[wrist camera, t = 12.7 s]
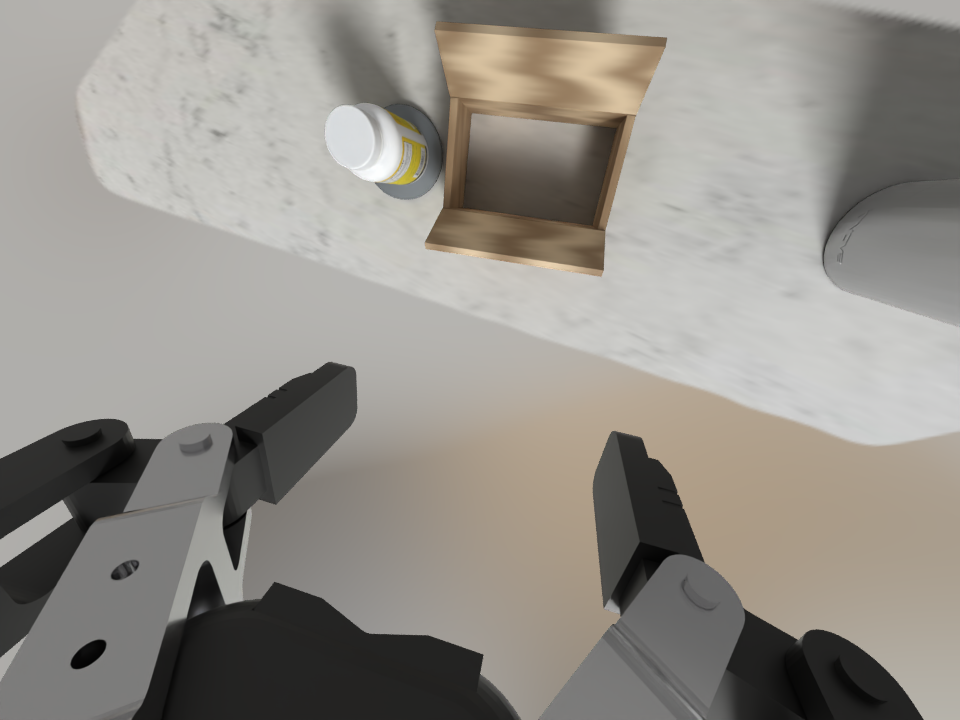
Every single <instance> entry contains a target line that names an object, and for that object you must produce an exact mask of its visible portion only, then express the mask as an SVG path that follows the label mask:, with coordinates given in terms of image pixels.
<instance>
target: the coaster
mask: <svg viewBox="0 0 960 720" xmlns="http://www.w3.org/2000/svg"><path fill="white" fill-rule="evenodd" d="M384 109H386V110H387V111H389V112H391V113H393V114H395V115H397V116H399V117H401V118H402V119H404V120H406V121H408V122H410V123H412V124H413V125H414V126H416V127H417V128H418V129H419V130H420V132H421V133H422V134H423V136H424V138H425V140H426V143H427V146H428V156H429V157H428V164H427V167H426V170H425V172H424V173H423V175H422V176H421V177H420V178H419V179H418V180H417V181H415V182H414V183H411V184H407V185H398V184H388V183H379V182H375V184H376V185H377V186H378V187H379V188H380V189H381V190H382V191H383V192H385V193H386V194H388V195H390V196H392V197H394V198H398V199H415V198H418V197H420V196H422V195H424V194H426V193H427V192H428V191H429V190H430V189H431V188H432V187H433V186H434V184H435V183H436V181H437V179H438V177H439V174H440V171H441V167H442V146H441V141H440V138H439V135H438V133H437V131H436V129H435V127H434V125H433V124H432V122H431V121H430V120H429V119H428V118H427V117H426V116H425V115H424V114H423V113H421V112H420V111H419V110H417V109H415V108H413V107H411V106H408V105H403V104H395V105H390V106H387V107H385V108H384Z"/></svg>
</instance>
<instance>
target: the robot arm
mask: <svg viewBox="0 0 960 720" xmlns="http://www.w3.org/2000/svg"><path fill="white" fill-rule="evenodd" d="M824 268H825V270H826V273H827V275H828V277H829V279H830V280H831V281H832V282H833V284H835V285H836V286H837V287H839V288H840V289H842V290H844V291H847V292H849V293H852V294H855V295H859V296H862V297H865V298H868V299H871V300H875V301H878V302H881V303H884V304H887V305H890V306H893V307H896V308H900V309H903V310H906V311H909V312H912V313H916V314H919V315H922V316H925V317H929V318H932V319H935V320H938V321H941V322H945V323H948V324H951V325H954V326H957V327H960V179H950V180H934V181H918V182H906V183H902V184H898V185H894V186H890V187H888V188H886V189H883V190H881V191H879V192H876V193H874V194H873V195H871V196H869V197H868V198H866V199H864V200H863V201H861V202H860V203H859V204H857V205H856V206H855V207H854V208H852V209H851V210H850V211H849V212H848V213H847V214H846V215H845V216H844V217H843V218H842V219H841V220H840V221H839V223H838V224H837V226H836V227H835V229H834V230H833V232H832V233H831V235H830V237H829V240H828V242H827V244H826V247H825V253H824ZM356 413H357V387H356V371H355V369H354V368H353V367H350V366H346V365H342V364H338V363H333V362H328V363H326V364H325V365H323V366H322V367H320V368H319V369H317V370H316V371H314V372H313V373H308V374H305V375H303V376H300V377H297V378H294V379H292V380H290V381H289V382H287V383H286V384H284V385H283V386H281V387H280V388H279V390H275V391H274V392H272V393H271V394H269V395H268V397H264V398H263V399H262V400H260V401H259V402H257V403H255V404H254V405H252V406H251V407H249V408H248V409H246V410H245V411H243V412H242V413H240V414H239V415H237V416H236V417H234V418H232V419H231V420H229V421H228V422H226V423H225V424H220V423H202V424H196V425H192V426H188V427H185V428H182V429H180V430H177V431H175V432H173V433H171V434H170V435H168V436H167V437H165V438H164V439H133V437H132V435H131V432H130V430H129V428H128V425H127V424H126V423H125V422H123V421H120V420H116V419H99V420H92V421H86V422H83V423H78V424H75V425H72V426H69V427H66V428H64V429H61V430H59V431H57V432H55V433H53V434H51V435H49V436H47V437H44V438H42V439H40V440H38V441H36V442H34V443H32V444H30V445H28V446H26V447H24V448H22V449H20V450H18V451H16V452H13V453H12V454H9V455H7V456H5V457H3V458H1V459H0V539H1V538H3V537H4V536H6V535H7V534H9V533H10V532H12V531H14V530H15V529H17V528H18V527H20V526H22V525H23V524H25V523H26V522H28V521H29V520H31V519H33V518H34V517H36V516H37V515H39V514H40V513H42V512H44V511H45V510H47V509H48V508H50V507H51V506H53V505H54V504H56V503H58V502H59V501H61V500H63V501H64V503H65V504H66V506H67V508H68V510H69V511H70V513H71V515H72V516H73V518H72V519H70V520H69V521H67V522H66V523H65V524H63V525H61V526H60V527H59V528H57V529H56V530H54V531H53V532H51V533H50V534H48V535H47V536H46V537H44V538H43V539H41V540H40V541H39V542H37V543H35V544H34V545H32V546H31V547H29V548H28V549H26V550H25V551H24V552H22V553H21V554H19V555H18V556H16V557H15V558H13V559H12V560H10V561H9V562H7V563H6V564H5V565H3V566H2V567H0V657H1V656H2V655H4V654H5V653H6V652H7V651H8V650H10V649H11V648H12V647H13V646H14V645H15V644H16V643H18V642H19V641H20V640H21V639H22V638H24V637H25V636H26V635H27V634H28V635H27V637H26V638H25V640H24V642H23V644H22V645H21V647H20V649H19V650H18V652H17V654H16V656H15V657H14V659H13V661H12V663H11V664H10V666H9V668H8V669H7V671H6V673H5V675H4V676H3V678H2V680H1V682H0V720H521V719H520V717H519V716H518V714H517V712H516V711H515V710H514V708H513V707H512V706H511V704H510V703H509V702H508V700H507V699H506V698H505V696H504V695H503V694H502V693H501V692H500V691H499V690H498V689H497V688H496V687H495V686H494V685H493V684H492V683H491V682H490V681H489V680H487V679H486V678H485V677H483V676H482V675H481V674H480V671H481V665H482V659H483V654H480V653H477V652H474V651H471V650H468V649H466V648H463V647H460V646H457V645H454V644H451V643H449V642H445V641H443V640H440V639H437V638H434V637H431V636H426V635H389V634H369V633H366V632H364V631H362V630H361V629H360V628H358V627H357V626H356V625H355V624H353V623H352V622H351V621H350V620H348V619H347V618H346V617H345V616H344V615H342V614H341V613H340V612H339V611H337V610H336V609H335V608H334V607H332V606H331V605H330V604H329V603H327V602H326V601H325V600H324V599H322V598H320V597H317V596H313V595H311V594H308V593H305V592H302V591H299V590H297V589H294V588H291V587H288V586H285V585H282V584H279V583H276V582H274V583H273V585H272V586H271V587H270V589H269V590H268V591H267V592H266V594H265V595H264V596H263V598H262V599H255V600H245V601H243V591H242V583H243V573H244V566H245V559H246V553H247V545H248V539H249V532H250V525H251V518H252V511H251V506H252V505H253V504H254V503H255V502H256V501H257V500H258V499H260V500H263V501H266V502H269V503H273V504H277V503H278V502H279V501H280V500H281V499H282V498H283V497H284V496H285V495H286V493H288V491H289V490H290V489H291V488H292V487H293V486H294V485H295V484H296V483H297V482H298V481H299V480H300V479H301V478H302V477H303V476H304V475H305V474H306V473H307V471H308V470H309V469H310V468H311V467H312V466H313V465H314V464H315V463H316V462H317V461H318V460H319V459H320V458H321V457H322V456H323V455H324V453H325V452H326V451H327V450H328V449H329V448H330V447H331V446H332V445H333V444H334V443H335V442H336V441H337V440H338V439H339V438H340V437H341V436H342V435H343V433H344V432H345V431H346V430H347V429H348V428H349V427H350V426H351V424H352V423H353V421H354V419H355V417H356ZM593 499H594V510H595V520H596V531H597V542H598V552H599V563H600V574H601V584H602V595H603V606H604V609H605V610H608V611H612V612H615V613H618V614H620V616H621V618H620V619H619V620H618V621H617V623H616V624H615V625H614V624H613V625H612V626H610V628H609V629H608V630H607V631H606V632H605V634H604V635H603V636H602V638H601V639H600V640H599V641H598V643H597V644H596V645H595V647H594V648H593V649H592V650H591V652H590V653H589V654H588V656H587V657H586V658H585V660H584V661H583V662H582V663H581V665H580V666H579V667H578V669H577V670H576V671H575V673H574V674H573V675H572V676H571V678H570V679H569V680H568V682H567V683H566V684H565V685H564V687H563V688H562V689H561V691H560V692H559V693H558V695H557V696H556V697H555V699H554V700H553V701H552V702H551V704H550V705H549V706H548V708H547V709H546V710H545V711H544V713H543V714H542V716H541V717H540V718H539V719H538V720H923V718H922V716H921V715H920V713H919V712H918V710H917V709H916V707H915V706H914V704H913V703H912V701H911V700H910V698H909V697H908V695H907V694H906V693H905V691H904V690H903V688H902V687H901V686H900V685H899V684H898V683H897V681H896V680H895V679H894V678H893V677H892V676H891V675H890V674H889V673H888V672H887V671H886V670H885V669H884V668H883V667H882V666H881V665H880V664H879V663H878V662H877V661H876V660H875V659H873V658H872V657H871V656H870V655H868V654H867V653H866V652H864V651H863V650H862V649H860V648H859V647H858V646H856V645H855V644H853V643H851V642H850V641H848V640H846V639H844V638H842V637H840V636H839V635H836V634H834V633H831V632H828V631H824V630H817V629H816V630H810V631H808V632H806V633H805V634H804V635H803V636H802V637H801V638H800V639H799V640H797V639H795V638H794V637H792V636H790V635H788V634H787V633H785V632H783V631H781V630H780V629H778V628H776V627H774V626H773V625H771V624H769V623H767V622H766V621H764V620H762V619H760V618H758V617H757V616H755V615H753V614H752V613H750V612H748V611H747V610H745V609H744V608H743V606H742V604H741V601H740V599H739V597H738V596H737V594H736V592H735V591H734V589H733V588H732V587H731V585H730V584H729V583H728V582H727V581H726V580H725V579H724V578H723V577H722V576H721V575H720V574H719V573H718V572H717V571H715V570H714V569H713V568H711V567H710V566H709V565H707V564H705V562H704V559H703V557H702V554H701V552H700V549H699V546H698V544H697V541H696V539H695V536H694V534H693V531H692V528H691V526H690V523H689V520H688V518H687V515H686V513H685V510H684V509H682V506H683V505H682V502H681V500H680V497H679V495H677V489H676V487H675V484H674V482H673V479H672V476H671V475H670V474H669V472H668V471H667V470H666V469H665V468H664V467H663V465H662V464H661V463H660V462H659V461H658V460H656V459H652V458H648V455H647V452H646V449H645V446H644V443H643V440H642V438H640V437H637V436H633V435H629V434H625V433H621V432H616V431H612V432H611V434H610V436H609V438H608V441H607V443H606V446H605V448H604V451H603V454H602V456H601V459H600V461H599V464H598V467H597V469H596V472H595V476H594V481H593Z"/></svg>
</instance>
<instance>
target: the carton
mask: <svg viewBox="0 0 960 720" xmlns="http://www.w3.org/2000/svg"><path fill="white" fill-rule="evenodd" d="M435 34H436V38H437V43H438V47H439V51H440V56H441V60H442V64H443V68H444V73H445V77H446V81H447V86H448V90H449V94H450V113H449V128H448V143H447V158H446V173H445V188H444V203H443V208H442V210H441V212H440V214H439V216H438V218H437V220H436V222H435V224H434V226H433V228H432V230H431V232H430V233H429V235H428V237H427V239H426V241H425V247H426V249H430V250H437V251H443V252H449V253H456V254H462V255H468V256H475V257H481V258H487V259H493V260H500V261H506V262H512V263H519V264H525V265H531V266H538V267H544V268H550V269H556V270H563V271H569V272H575V273H582V274H588V275H594V276H602V273H603V271H604V249H605V230H606V226H607V222H608V218H609V215H610V211H611V207H612V203H613V199H614V196H615V192H616V188H617V184H618V181H619V177H620V173H621V169H622V165H623V162H624V158H625V154H626V150H627V147H628V143H629V139H630V135H631V132H632V128H633V124H634V120H635V116H636V114H637V112H638V110H639V107H640V105H641V103H642V100H643V98H644V96H645V93H646V91H647V89H648V86H649V84H650V82H651V79H652V77H653V75H654V72H655V70H656V68H657V65H658V63H659V61H660V58H661V56H662V54H663V51H664V49H665V46H666V41H667V38H663V37H649V36H635V35H621V34H606V33H592V32H578V31H564V30H550V29H536V28H522V27H508V26H493V25H479V24H465V23H451V22H436V26H435ZM472 113H477V114H486V115H496V116H505V117H515V118H525V119H534V120H544V121H553V122H563V123H572V124H582V125H592V126H601V127H611V128H616V132H615V136H614V140H613V144H612V148H611V152H610V156H609V160H608V164H607V168H606V173H605V177H604V181H603V185H602V189H601V193H600V197H599V201H598V205H597V209H596V213H595V217H594V221H593V225H592V226H590V225H583V224H576V223H569V222H562V221H555V220H548V219H541V218H533V217H526V216H519V215H512V214H505V213H498V212H491V211H484V210H477V209H470V208H463V204H464V193H465V182H466V170H467V159H468V148H469V137H470V126H471V115H472Z"/></svg>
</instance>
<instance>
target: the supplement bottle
mask: <svg viewBox="0 0 960 720" xmlns="http://www.w3.org/2000/svg"><path fill="white" fill-rule="evenodd" d="M324 135H325V141H326V145H327V148H328V150H329V152H330V154H331V155H332V157H333V158H334V159H335V160H336V161H337V162H338V163H339V164H340V165H342V166H344V167H346V168H348V169H349V170H350V171H351V172H352V173H353V174H355V175H356V176H358V177H359V178H361V179H363V180H367V181H371V182H379V183H388V184H398V185H407V184H411V183H414V182H415V181H417V180H418V179H419V178H420V177H421V176H422V175H423V173H424V172H425V170H426V167H427V164H428V157H429V156H428V146H427V143H426V140H425V138H424V136H423V134H422V133H421V132H420V130H419V129H418V128H417V127H416V126H414V125H413V124H412V123H410V122H408V121H406V120H404V119H402V118H401V117H399V116H397V115H395V114H393V113H391V112H389V111H387V110H386V109H384V108H382V107H380V106H378V105H375V104H372V103H359V104H356V105H354V106H353V105H340V106H338V107H336V108H334V109H333V110H332V111H331V112H330V114H329V115H328V117H327V120H326V123H325V129H324Z"/></svg>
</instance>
